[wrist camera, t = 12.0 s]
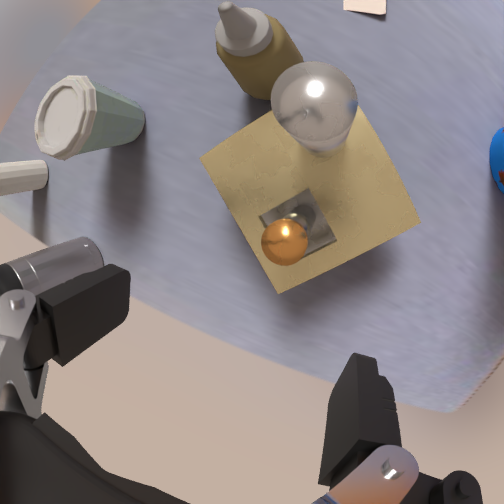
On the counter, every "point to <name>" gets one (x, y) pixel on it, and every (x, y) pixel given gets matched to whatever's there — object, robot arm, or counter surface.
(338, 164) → the tan and silver stand
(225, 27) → the squeeze bottle
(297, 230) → the copper-capped metal rod
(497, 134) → the thermos
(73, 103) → the disposable coffee cup
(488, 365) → the counter surface
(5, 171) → the paper towel roll
